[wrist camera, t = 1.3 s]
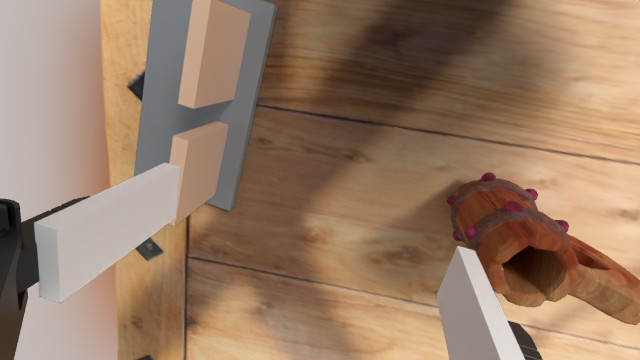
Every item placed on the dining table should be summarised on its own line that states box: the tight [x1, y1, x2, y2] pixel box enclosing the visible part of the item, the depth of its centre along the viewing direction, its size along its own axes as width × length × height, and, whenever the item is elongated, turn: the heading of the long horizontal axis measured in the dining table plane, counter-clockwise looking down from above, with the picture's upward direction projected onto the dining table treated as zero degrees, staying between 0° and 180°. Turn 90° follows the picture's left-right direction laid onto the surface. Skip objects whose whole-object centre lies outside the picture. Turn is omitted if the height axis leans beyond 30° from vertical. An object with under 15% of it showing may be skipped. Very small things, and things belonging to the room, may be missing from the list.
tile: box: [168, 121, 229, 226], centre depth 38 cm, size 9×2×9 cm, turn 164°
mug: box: [447, 173, 640, 325], centre depth 32 cm, size 15×8×15 cm, turn 72°
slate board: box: [134, 0, 278, 211], centre depth 41 cm, size 24×13×1 cm, turn 164°
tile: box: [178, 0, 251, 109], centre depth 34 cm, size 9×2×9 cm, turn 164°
